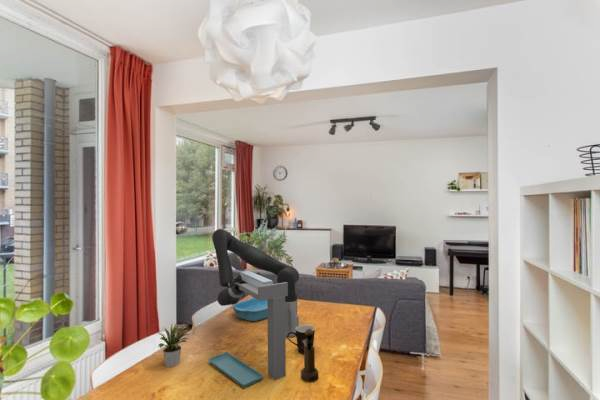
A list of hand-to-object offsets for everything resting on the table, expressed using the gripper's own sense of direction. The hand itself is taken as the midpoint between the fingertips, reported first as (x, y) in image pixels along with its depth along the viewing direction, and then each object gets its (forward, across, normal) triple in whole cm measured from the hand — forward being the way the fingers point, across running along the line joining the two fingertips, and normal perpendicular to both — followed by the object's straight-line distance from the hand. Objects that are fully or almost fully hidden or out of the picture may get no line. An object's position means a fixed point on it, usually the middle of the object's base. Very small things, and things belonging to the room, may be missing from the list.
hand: (250, 275), depth 139 cm
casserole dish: (-59, +28, +6) cm, 66 cm away
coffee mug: (-10, +21, +34) cm, 42 cm away
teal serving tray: (-10, -10, +35) cm, 38 cm away
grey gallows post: (-6, 0, +36) cm, 37 cm away
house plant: (-26, -31, +25) cm, 47 cm away
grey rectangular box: (+4, 0, +5) cm, 6 cm away
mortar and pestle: (+7, +12, +44) cm, 46 cm away
